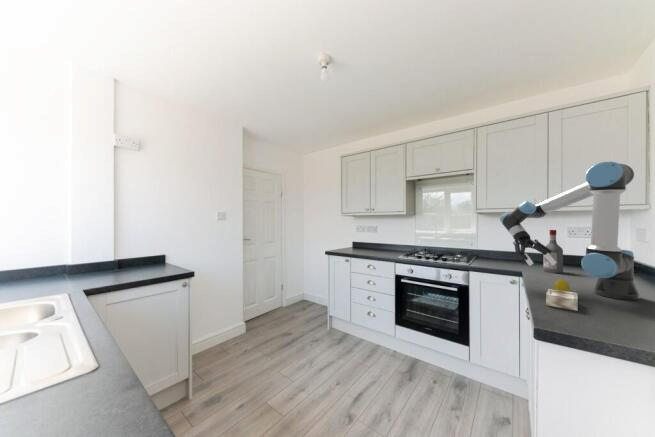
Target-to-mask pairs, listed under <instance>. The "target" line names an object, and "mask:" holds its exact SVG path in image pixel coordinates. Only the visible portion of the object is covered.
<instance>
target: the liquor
mask: <svg viewBox="0 0 655 437" xmlns="http://www.w3.org/2000/svg"><path fill="white" fill-rule="evenodd" d="M544 246H545V247H547V248H548V249H550V250H551V251H552V252H551V253H550V254H551V255H552V257H553V258H554V259H555V261H556V262H557V263H556V264H555V265H552V264H551V263H550V262H549V261H548V260H547V258H546V257H545V255H544V254H543V253H542V255H543V259H542V260H543V261H542V262H543V263H542V264H543V265H542V266H543V268H542V269H543V271H544V272H545V271H546V272H545V273H550V272H551V273H552V274H563V272H564V250H563V248H562V247H561V246H560V245H559V244H558V243H557V230H556V229H549V242H548V244H546V245H544ZM551 273H550V274H551Z"/></svg>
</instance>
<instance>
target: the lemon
mask: <svg viewBox="0 0 655 437" xmlns="http://www.w3.org/2000/svg"><path fill="white" fill-rule="evenodd" d="M554 290H559V291H566V292H571V291H570V290H571V288H570V284H569V283H568V282H567V281H565V280H564V279H559V280H556V282H555V283H554Z"/></svg>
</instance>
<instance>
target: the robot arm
mask: <svg viewBox="0 0 655 437" xmlns="http://www.w3.org/2000/svg"><path fill="white" fill-rule="evenodd" d="M634 177H635V172H634V170H633V168H632V167H631V166H629V165H627V164H625V163H618V162H615V161H601V162H598V163H595V164H593V165H592V166H590V167H589V169H587V171H586V173H585V177H584V178H585V182H584V183H582V184H580V185H578V186H575V187H573V188H570V189H568V190H567V191H564V192H561V193H559V194H557V195H554V196H553V197H550V198H547V199H546V200H543V201H541V202H539V203H536V204H534V203H532V202H531V201H527V200H525V201H524V202H522V203H521V204H519V205H518V206H517V207H516V209H514V210H513V211H512V212H505V213H503V214H502V215H501V216H500V218H499V220H500V222H501V225H502V226H503V227H504V228H505V229H506V230H507V232H508V233H509V234H510V236H511V237H512V238H513V239H514V240H513V242H512V243H513V245H514V253H515V255H516V256H518V257H521V258H522V259H523V260H524V261H525V262H526V264H527V265H528V266H529V267H531V266H533V264H534V261H533V260H532V259H531V257H530V256H529V255H528V254H527V252H525V251H526V249H527V248H529V249H533V250H536V251H537V252H538V253H541V254H542V255H543V254H544V255H545V257H546V258H547V260H548V261H549V262H550V263H551V264H552V265H555V264H556V263H557V262H556V261H555V259H554V258H553V257H552V255H551V254H550V253H551V252H552V251H551V250H550V249H548V248H547V247H545V246H546V245H544V244H543V243H541V242H539V240H538V239H536V238H535V239H534V240H533V239H531V235H530V234H529V232H528V231H527V230H526V229H525V227H523V226H522V224H521V223H523V222H524V221H525V220H526V219H531V218H532V219H540V218H543V217H545V216H546V215H548V214H551V213H552V212H555V211H558V210H561V209H562V208H563V209H564V208H565V207H568V206H571V205H573V204H576V203H579V202H581V201H583V200H586V199H588V198H591V197H592V216H591V217H592V218H591V231H590V232H591V233H590V234H591V235H590V244H589V245H588V246H586V247H585V248H586V249H585V255H584V256H583V257H582V258H581V261H580V263H581V264H580V266H581V267H582V269H583V271H585V272H586V274H588V275H590V276H592V277H595V278H597V280H596V282H595V284H594V287H593V293H594V294H595V295H598V296H602V297H606V298H612V299H618V300H626V301H637V300H640V293H639V291H638V289H637V287H636V286H637V285H636V284H635V281H634V276H635V275H634V274H635V270H634V269H635V268H634V266H635V260H634V259H635V256H634V252H633V251H632V250H627V249H621V247H620V246H618V243H619V227H620V226H619V222H620V206H621V194H623V193H624V192H626V189H627V187H626V186H627V185H629V184H630V183H631V182H632V181H633V180H634Z"/></svg>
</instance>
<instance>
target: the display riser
mask: <svg viewBox="0 0 655 437" xmlns="http://www.w3.org/2000/svg"><path fill="white" fill-rule="evenodd" d="M578 297H579V296H578V293H577V292H571V291H569V292H566V291H559V290H555V289H552V288H548V289H547V291H546V294H545V305H546V306H548V307H549V306H550V307H554V308H559V309H560V308H561V309H565V310H571V311H575V312H576V311H577V312H578V305H579V304H578V303H579V302H578Z"/></svg>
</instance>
